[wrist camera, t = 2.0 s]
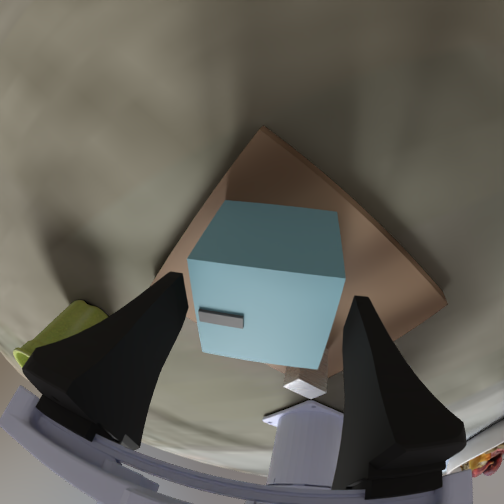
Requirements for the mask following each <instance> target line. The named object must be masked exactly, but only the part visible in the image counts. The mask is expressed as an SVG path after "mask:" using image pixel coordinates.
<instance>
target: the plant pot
mask: <svg viewBox="0 0 504 504" xmlns="http://www.w3.org/2000/svg"><path fill="white" fill-rule="evenodd" d="M107 317H108V316H107V315H106V314H105V313H104V312H103V311H102V310H101V309H99V308H98V307H95V306H90V305H88V304H86V303H85V301H82V300H77V301H74V302H73V303H72V304H70V305H69V306H68V307H67V308H66V309H65V310H64V311H63V312H62V313H61V314H60V315H59V316H58V317H56V318H55V319H54V320H53V321H52V322H51V323H50V324H49V325H48V326H47V327H46V328H45V329H44V330H43V331H42V332H41V333H39V334H38V335H37V336H36V337H35V338H34V339H33V340H31V341H28V342H27V343H26V344H25V345H23V346H22V347H21V348H15V349H14V351H13V354H14V357H15V359H16V360H17V362H18V363H19V365H20V366H21V367H23V366H24V364H25V363H26V361H27V360H28V359H29V357H30V356H31V354H32V353H33V351H34V350H35V348H37V347H41V346H44V345H47V344H51V343H54V342H57V341H60V340H62V339H65V338H68V337H70V336H72V335H75V334H77V333H79V332H81V331H83V330H85V329H87V328H89V327H91V326H93V325H95V324H97V323H99V322H101V321H102V320H104V319H106V318H107Z"/></svg>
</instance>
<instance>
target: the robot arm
mask: <svg viewBox="0 0 504 504" xmlns="http://www.w3.org/2000/svg"><path fill="white" fill-rule="evenodd" d="M188 308H189V305H188V300H187V295H186V289H185V283H184V277H183V273H178V272H172V271H170V272H168V273H167V274H166V275H164V276H163V277H162V278H161V279H159V280H158V281H157V282H156V283H154V284H153V285H152V286H150V287H149V288H148V289H147V290H145V291H144V292H143V293H142V294H140V295H139V296H138V297H136V298H135V299H134V300H132V301H131V302H129V303H128V304H127V305H125V306H124V307H122V308H121V309H120V310H118V311H117V312H115V313H114V314H112V315H111V316H109V317H107V318H106V319H104V320H102V321H101V322H99V323H97V324H95V325H93V326H91V327H89V328H87V329H85V330H83V331H81V332H79V333H77V334H75V335H72V336H70V337H68V338H65V339H62V340H60V341H57V342H54V343H51V344H47V345H44V346H41V347H37V348H35V350H34V351H33V353H32V354H31V356H30V357H29V359H28V360H27V361H26V363H25V364H24V366H23V367H22V370H23V373H24V375H25V376H26V377H27V378H28V380H29V381H30V382H31V383H32V384H33V385H34V386H35V387H36V388H37V389H38V390H39V391H40V392H41V393H42V394H43V395H42V396H41V398H40V399H39V398H38V397H37V396H36V395H34V394H33V393H32V392H30V391H29V390H27V389H26V388H24V387H23V386H21V385H20V386H19V388H18V389H17V391H16V392H15V394H14V396H13V397H12V399H11V401H10V402H9V404H8V406H7V408H6V409H5V411H4V413H3V415H2V417H1V418H0V427H1V428H3V429H4V430H5V431H6V432H7V433H8V434H9V435H10V436H11V437H13V438H14V439H15V440H16V441H17V442H18V443H19V444H20V445H21V446H23V447H24V448H25V449H26V450H27V451H28V452H29V453H31V454H32V455H33V456H34V457H35V458H37V459H38V460H39V461H40V462H41V463H43V464H44V465H45V466H47V467H48V468H49V469H51V470H52V471H53V472H54V473H56V474H57V475H58V476H60V477H61V478H63V479H64V480H66V481H67V482H68V483H70V484H72V485H73V486H74V487H76V488H77V489H79V490H80V491H82V492H84V493H85V494H87V495H88V496H90V497H91V498H93V499H95V500H96V501H97V504H192V503H189V502H185V501H182V500H179V499H176V498H172V497H169V496H166V495H163V494H160V493H157V491H158V488H159V485H158V484H157V483H155V482H153V481H151V480H149V479H147V478H145V477H144V476H143V475H141V474H139V473H137V472H134V471H132V470H130V469H128V468H126V467H123V466H122V464H121V463H124V464H126V465H128V466H131V467H133V468H136V469H138V470H141V471H143V472H146V473H148V474H151V475H154V476H157V477H160V478H162V479H165V480H168V481H171V482H174V483H178V484H181V485H184V486H187V487H191V488H195V489H198V490H203V491H206V492H210V493H214V494H219V495H223V496H228V497H233V498H238V499H244V500H246V501H245V503H244V504H473V489H472V488H473V487H472V470H471V469H467V470H463V471H459V472H455V473H451V474H448V475H445V476H442V470H444V469H445V468H446V462H445V461H446V460H447V459H449V458H451V457H453V456H454V455H456V454H458V453H459V452H460V451H462V450H463V449H464V448H465V447H466V445H467V442H466V434H465V428H464V423H463V422H462V421H461V420H460V419H459V418H457V417H456V416H455V415H454V414H453V413H452V412H450V411H449V410H448V409H447V408H446V407H445V406H444V405H443V404H442V403H441V402H440V401H439V400H438V399H437V398H436V397H435V396H434V395H433V394H432V393H431V392H430V391H429V390H428V389H427V387H426V386H425V385H424V384H423V383H422V382H421V381H420V379H419V378H418V377H417V376H416V374H415V373H414V372H413V370H412V369H411V368H410V366H409V365H408V364H407V362H406V361H405V359H404V358H403V356H402V355H401V353H400V352H399V350H398V349H397V347H396V345H395V344H394V342H393V340H392V339H391V337H390V335H389V333H388V332H387V330H386V328H385V326H384V325H383V323H382V321H381V319H380V317H379V315H378V314H377V312H376V310H375V308H374V306H373V304H372V302H371V300H370V298H369V297H366V296H356V295H354V298H353V301H352V304H351V307H350V310H349V313H348V316H347V319H346V322H345V325H344V328H343V343H342V355H343V371H344V391H345V405H344V414H343V413H341V412H338V411H336V410H334V409H331V408H329V407H327V406H324V405H322V404H320V403H318V402H315V401H313V400H308V401H305V402H303V403H300V404H298V405H295V406H293V407H290V408H288V409H285V410H282V411H280V412H277V413H274V414H271V415H268V416H266V417H263V420H262V421H263V422H266V423H268V424H271V425H273V426H276V427H277V431H276V436H275V442H274V447H273V453H272V458H271V463H270V468H269V473H268V478H267V483H266V485H260V484H253V483H247V482H241V481H236V480H231V479H226V478H222V477H217V476H213V475H209V474H205V473H200V472H197V471H193V470H190V469H186V468H183V467H179V466H176V465H173V464H170V463H167V462H164V461H161V460H158V459H155V458H152V457H149V456H147V455H144V454H141V453H139V452H136V451H134V450H136V449H138V448H140V445H141V439H142V434H143V429H144V425H145V421H146V417H147V413H148V409H149V405H150V402H151V399H152V395H153V392H154V389H155V386H156V383H157V380H158V377H159V374H160V372H161V370H162V367H163V365H164V363H165V361H166V359H167V357H168V355H169V353H170V351H171V349H172V347H173V345H174V343H175V341H176V339H177V336H178V334H179V332H180V330H181V328H182V326H183V323H184V320H185V317H186V314H187V311H188Z"/></svg>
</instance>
